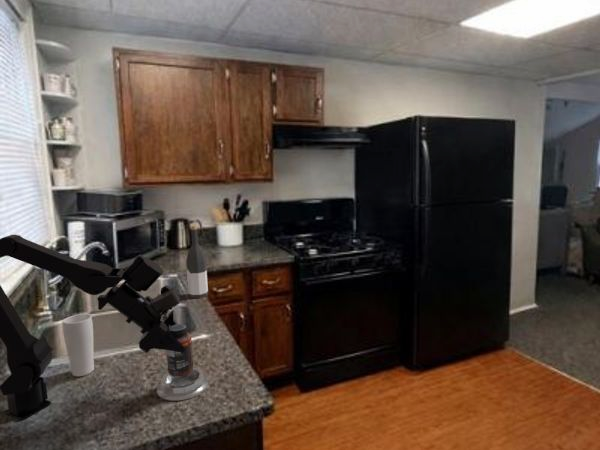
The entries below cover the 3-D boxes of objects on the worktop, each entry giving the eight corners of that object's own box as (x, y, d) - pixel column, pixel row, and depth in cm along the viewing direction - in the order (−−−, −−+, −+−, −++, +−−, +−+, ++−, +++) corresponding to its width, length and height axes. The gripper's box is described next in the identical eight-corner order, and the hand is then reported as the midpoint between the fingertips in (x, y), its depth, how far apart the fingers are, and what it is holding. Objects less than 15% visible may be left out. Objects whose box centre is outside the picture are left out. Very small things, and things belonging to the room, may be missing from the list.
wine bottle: (209, 296, 163) (205, 226, 159) (189, 299, 160) (184, 227, 156) (206, 291, 170) (202, 223, 166) (187, 294, 167) (182, 225, 163)
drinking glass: (91, 363, 108) (85, 311, 106) (102, 370, 104) (96, 317, 102) (64, 373, 103) (57, 319, 101) (74, 381, 99) (68, 325, 96)
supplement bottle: (186, 362, 99) (184, 320, 97) (197, 371, 94) (195, 327, 93) (163, 371, 95) (160, 326, 93) (174, 380, 90) (171, 334, 89)
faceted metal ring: (186, 405, 87) (185, 395, 87) (146, 394, 92) (145, 385, 92) (217, 379, 98) (217, 369, 98) (180, 370, 103) (179, 361, 102)
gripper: (151, 291, 81) (208, 335, 85) (161, 269, 99) (208, 307, 103) (114, 331, 81) (172, 374, 85) (131, 302, 99) (179, 338, 103)
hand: (185, 345), depth 94 cm, fingers closed on supplement bottle, 6 cm apart
